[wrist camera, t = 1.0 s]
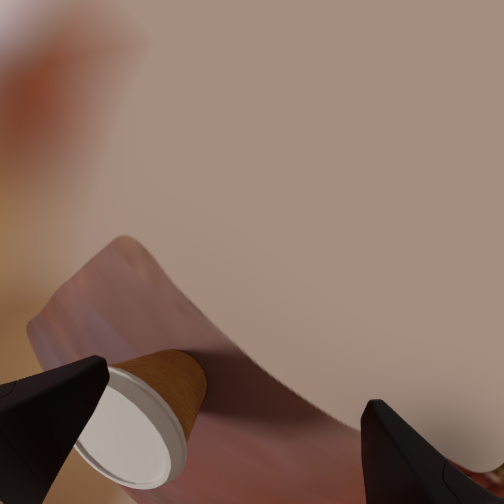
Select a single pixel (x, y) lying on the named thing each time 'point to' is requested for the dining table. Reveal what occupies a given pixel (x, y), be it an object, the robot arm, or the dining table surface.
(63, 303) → the dining table surface
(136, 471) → the disposable coffee cup
